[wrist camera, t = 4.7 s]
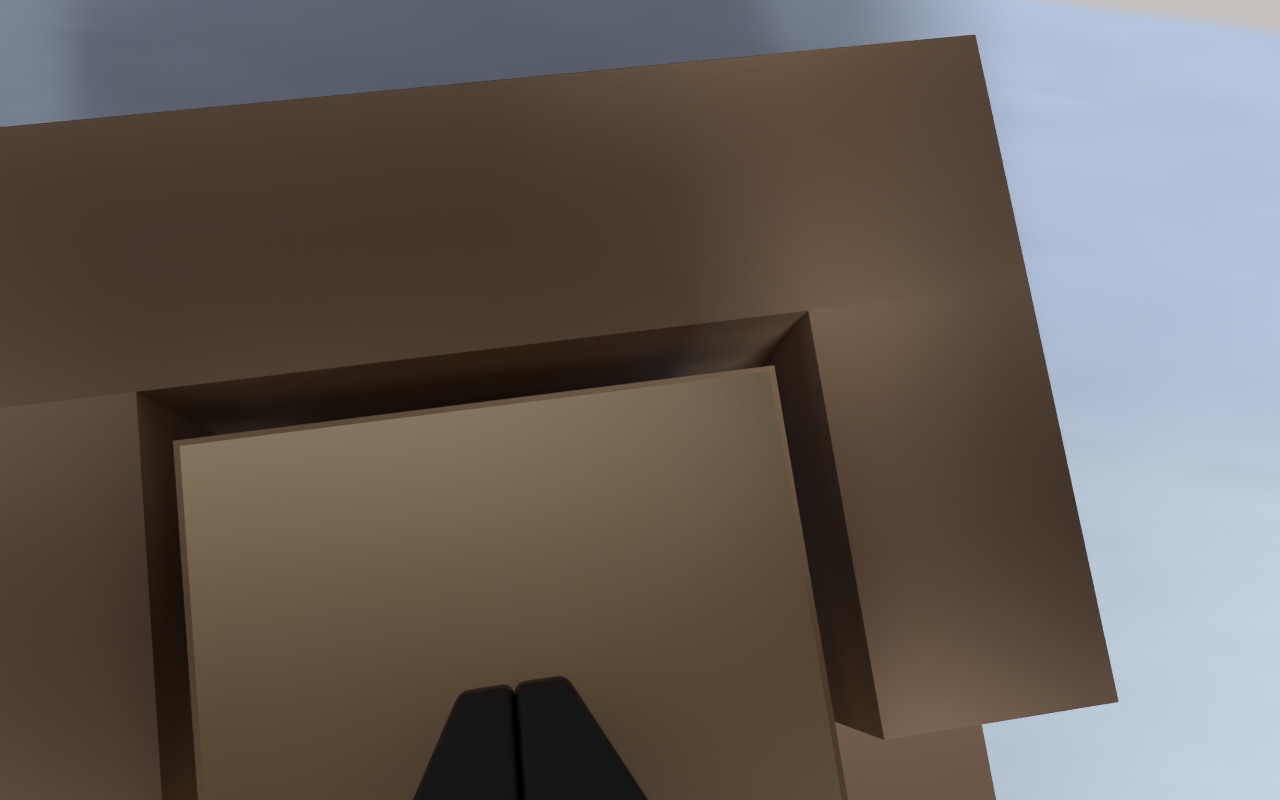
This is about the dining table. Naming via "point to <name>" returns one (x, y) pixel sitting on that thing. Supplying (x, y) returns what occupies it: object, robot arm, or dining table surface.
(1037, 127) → the dining table surface
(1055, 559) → the socket
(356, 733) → the peg
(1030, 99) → the dining table surface
